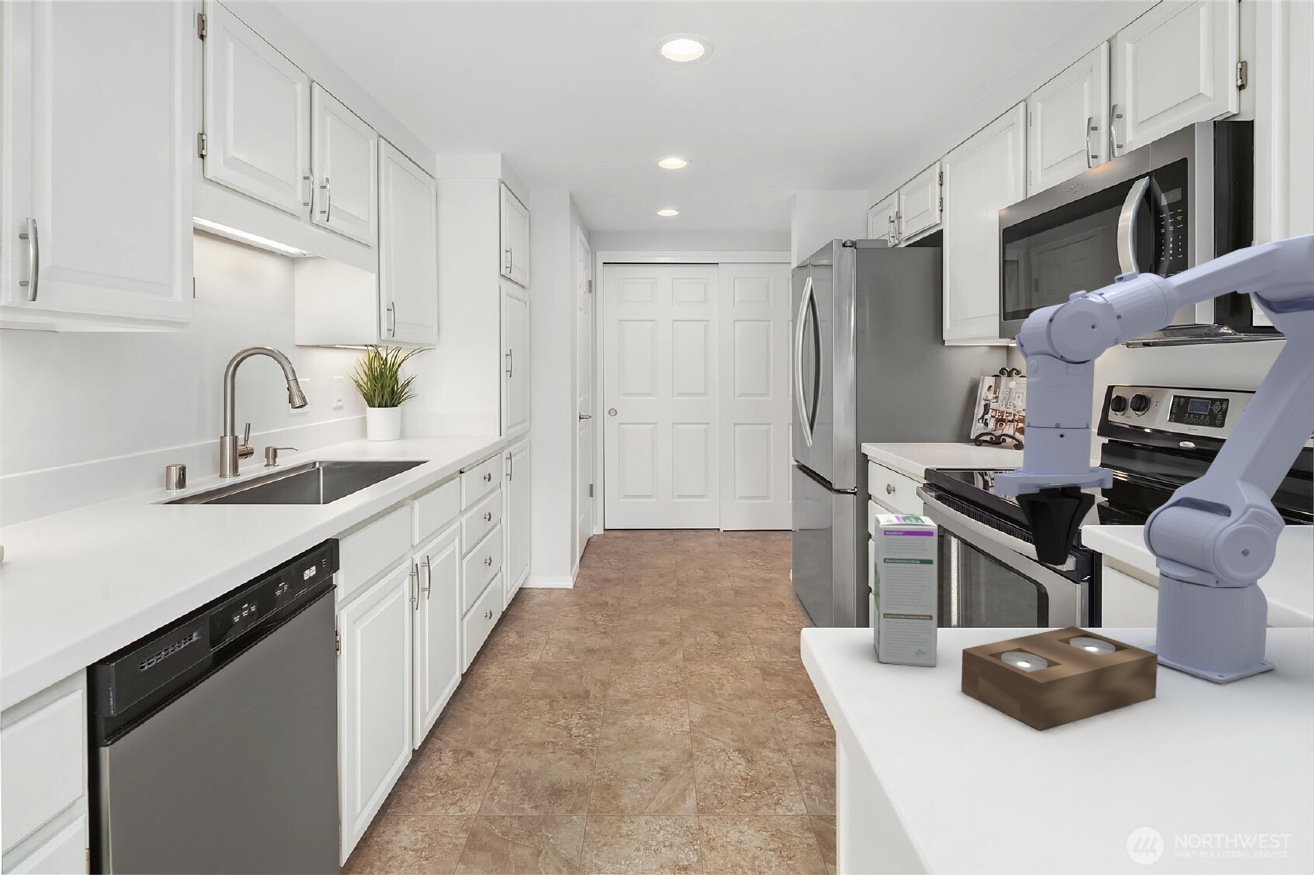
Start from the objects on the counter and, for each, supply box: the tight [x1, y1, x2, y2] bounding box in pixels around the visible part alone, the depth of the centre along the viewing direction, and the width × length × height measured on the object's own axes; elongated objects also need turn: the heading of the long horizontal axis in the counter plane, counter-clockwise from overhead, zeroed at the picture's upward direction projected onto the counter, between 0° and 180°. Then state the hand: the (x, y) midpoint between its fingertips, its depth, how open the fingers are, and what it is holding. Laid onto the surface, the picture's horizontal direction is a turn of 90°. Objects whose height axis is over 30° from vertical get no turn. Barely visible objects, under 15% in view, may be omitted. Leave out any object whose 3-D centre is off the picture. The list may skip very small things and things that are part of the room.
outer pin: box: [1001, 652, 1048, 672], centre depth 61 cm, size 4×4×4 cm
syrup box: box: [873, 513, 939, 668], centre depth 72 cm, size 6×6×14 cm
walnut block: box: [960, 625, 1158, 731], centre depth 63 cm, size 15×8×4 cm, turn 114°
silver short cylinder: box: [1070, 637, 1115, 656], centre depth 65 cm, size 4×4×4 cm
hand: (1051, 563), depth 69 cm, fingers closed
